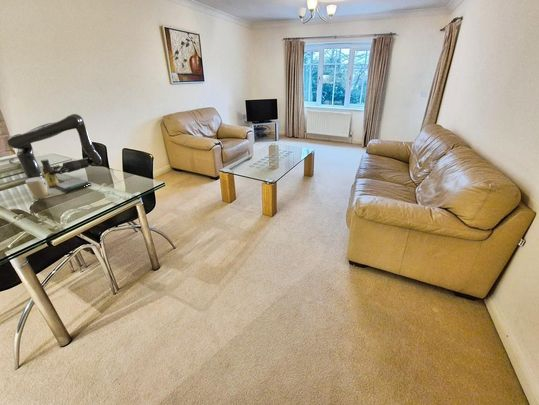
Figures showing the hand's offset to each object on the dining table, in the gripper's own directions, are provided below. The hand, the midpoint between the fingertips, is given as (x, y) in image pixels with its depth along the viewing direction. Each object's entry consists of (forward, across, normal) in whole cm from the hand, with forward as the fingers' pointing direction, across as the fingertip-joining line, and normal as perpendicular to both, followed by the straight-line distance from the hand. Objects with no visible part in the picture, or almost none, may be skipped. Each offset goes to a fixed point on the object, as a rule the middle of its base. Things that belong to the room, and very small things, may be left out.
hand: (47, 172), depth 177 cm
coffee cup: (+11, +11, +11) cm, 19 cm away
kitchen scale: (-8, +13, +11) cm, 19 cm away
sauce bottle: (-1, 0, +11) cm, 11 cm away
